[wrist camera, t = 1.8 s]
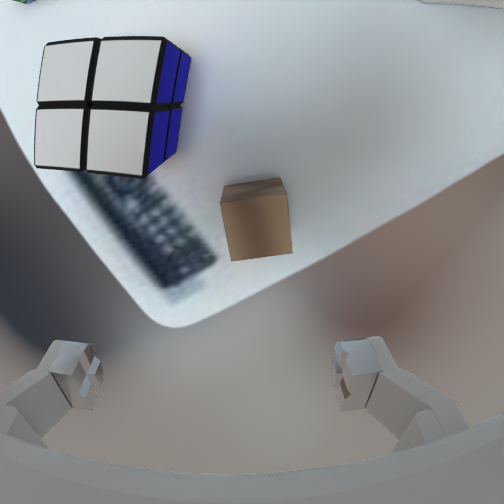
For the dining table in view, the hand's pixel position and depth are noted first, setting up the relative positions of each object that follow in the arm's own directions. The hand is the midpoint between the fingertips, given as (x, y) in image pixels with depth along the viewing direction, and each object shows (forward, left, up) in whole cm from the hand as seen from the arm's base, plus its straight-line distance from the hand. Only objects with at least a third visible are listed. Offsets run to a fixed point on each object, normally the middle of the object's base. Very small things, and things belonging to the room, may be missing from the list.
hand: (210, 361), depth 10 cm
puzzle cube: (+8, -10, -24) cm, 27 cm away
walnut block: (-2, +3, -23) cm, 24 cm away
